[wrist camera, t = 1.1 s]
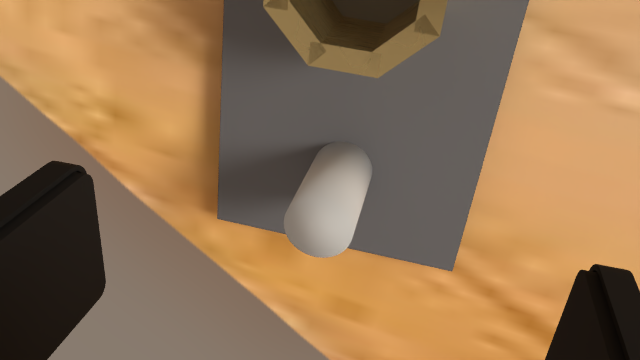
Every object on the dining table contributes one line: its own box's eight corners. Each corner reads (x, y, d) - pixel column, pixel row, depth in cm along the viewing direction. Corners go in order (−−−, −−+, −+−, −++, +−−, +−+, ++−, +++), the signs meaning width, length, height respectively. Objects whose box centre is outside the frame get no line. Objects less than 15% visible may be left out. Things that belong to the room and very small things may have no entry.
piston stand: (238, -170, 26) (166, -183, 20) (561, -129, 24) (594, -129, 18) (224, 208, 35) (173, 279, 29) (452, 259, 34) (449, 346, 27)
